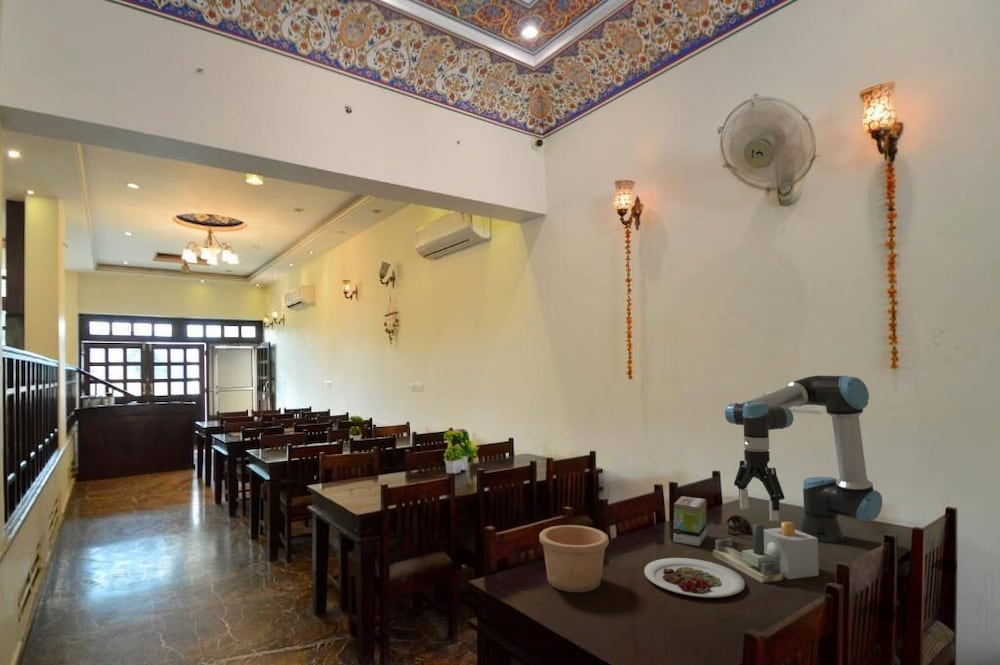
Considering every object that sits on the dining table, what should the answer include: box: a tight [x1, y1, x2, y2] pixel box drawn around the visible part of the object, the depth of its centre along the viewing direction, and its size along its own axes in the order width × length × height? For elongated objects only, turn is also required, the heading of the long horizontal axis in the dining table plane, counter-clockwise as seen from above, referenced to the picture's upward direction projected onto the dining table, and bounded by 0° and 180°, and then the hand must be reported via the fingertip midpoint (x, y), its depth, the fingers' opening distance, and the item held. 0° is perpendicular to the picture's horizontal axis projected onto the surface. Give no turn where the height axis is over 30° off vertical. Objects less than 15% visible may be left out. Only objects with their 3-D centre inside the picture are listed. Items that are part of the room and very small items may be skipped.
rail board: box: [712, 537, 784, 584], centre depth 182 cm, size 8×24×6 cm, turn 15°
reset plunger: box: [780, 521, 796, 537], centre depth 179 cm, size 4×4×8 cm
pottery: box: [538, 524, 610, 594], centre depth 170 cm, size 22×22×14 cm
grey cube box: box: [764, 527, 820, 580], centre depth 179 cm, size 12×12×12 cm
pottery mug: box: [726, 514, 753, 536], centre depth 218 cm, size 12×10×8 cm
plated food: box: [643, 557, 746, 598], centre depth 171 cm, size 30×30×3 cm
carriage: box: [741, 523, 776, 567], centre depth 176 cm, size 7×7×12 cm
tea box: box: [673, 495, 707, 547], centre depth 211 cm, size 15×10×15 cm
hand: (758, 514), depth 176 cm, fingers open, 13 cm apart
